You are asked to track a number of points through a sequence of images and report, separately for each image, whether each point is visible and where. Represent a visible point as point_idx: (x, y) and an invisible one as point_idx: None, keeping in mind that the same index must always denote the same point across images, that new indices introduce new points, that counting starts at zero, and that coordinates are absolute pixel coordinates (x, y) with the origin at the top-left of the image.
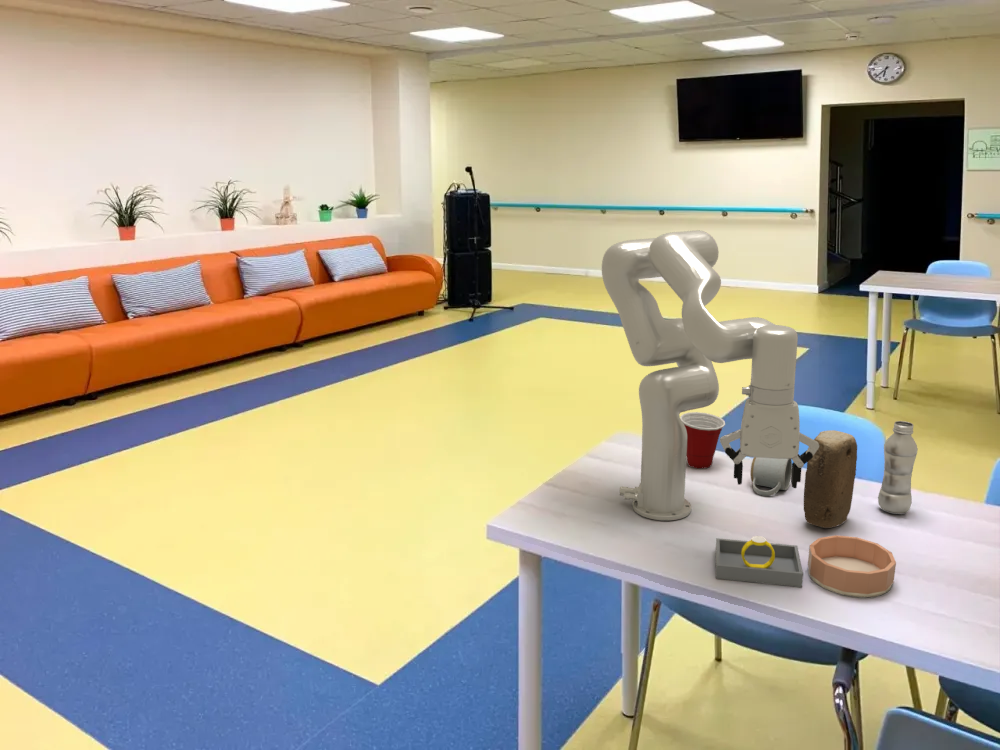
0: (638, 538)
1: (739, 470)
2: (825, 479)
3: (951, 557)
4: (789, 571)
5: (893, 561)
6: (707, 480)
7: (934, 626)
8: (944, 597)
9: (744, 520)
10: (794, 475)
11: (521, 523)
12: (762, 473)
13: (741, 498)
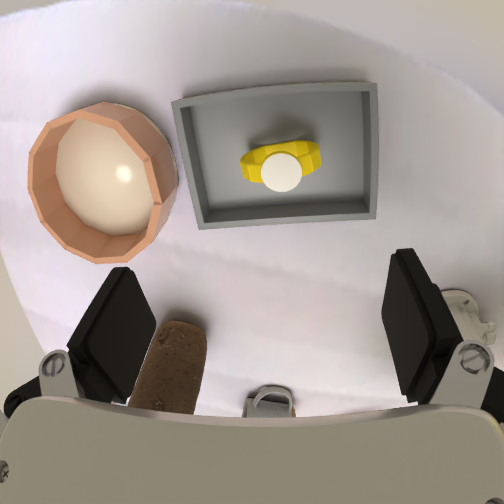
0: (491, 222)
1: (437, 305)
2: (150, 391)
3: (33, 276)
4: (201, 101)
5: (31, 191)
6: (351, 401)
7: (8, 80)
8: (9, 168)
9: (307, 325)
10: (98, 312)
11: None
12: (279, 417)
13: (308, 376)
